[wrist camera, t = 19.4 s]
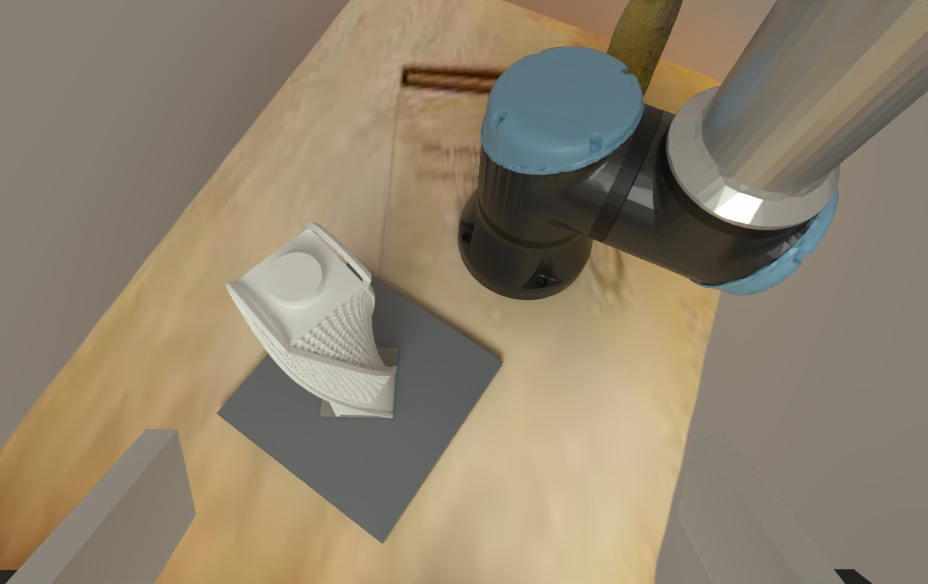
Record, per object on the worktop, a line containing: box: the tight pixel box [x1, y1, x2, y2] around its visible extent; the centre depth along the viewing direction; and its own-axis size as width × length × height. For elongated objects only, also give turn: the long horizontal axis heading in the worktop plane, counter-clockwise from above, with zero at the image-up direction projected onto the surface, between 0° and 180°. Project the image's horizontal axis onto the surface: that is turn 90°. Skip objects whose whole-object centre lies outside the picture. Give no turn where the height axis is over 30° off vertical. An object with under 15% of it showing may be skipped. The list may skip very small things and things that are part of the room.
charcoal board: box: [217, 263, 503, 543], centre depth 51 cm, size 20×20×2 cm
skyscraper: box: [226, 222, 398, 418], centre depth 37 cm, size 8×8×28 cm
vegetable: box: [607, 0, 683, 97], centre depth 58 cm, size 6×6×20 cm
